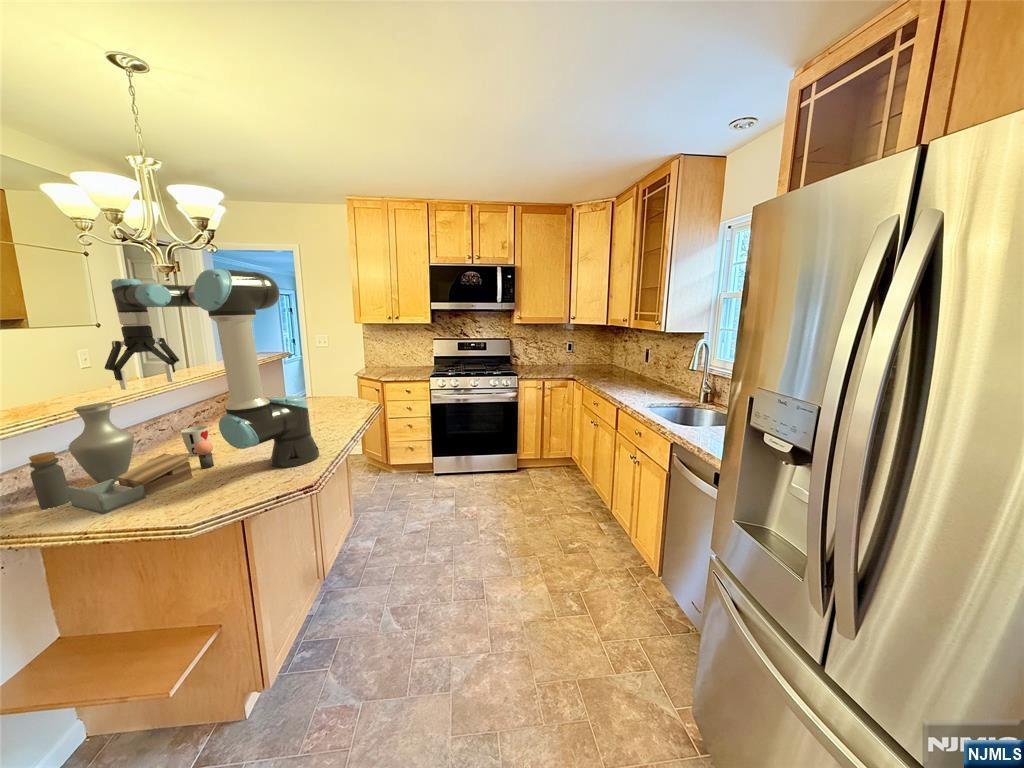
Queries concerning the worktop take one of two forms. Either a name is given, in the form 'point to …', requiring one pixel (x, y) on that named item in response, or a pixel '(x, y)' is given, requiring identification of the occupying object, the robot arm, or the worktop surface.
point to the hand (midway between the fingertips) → (149, 385)
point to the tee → (206, 461)
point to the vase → (102, 444)
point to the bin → (104, 496)
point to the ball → (203, 447)
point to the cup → (195, 437)
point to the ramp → (158, 473)
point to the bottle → (49, 480)
